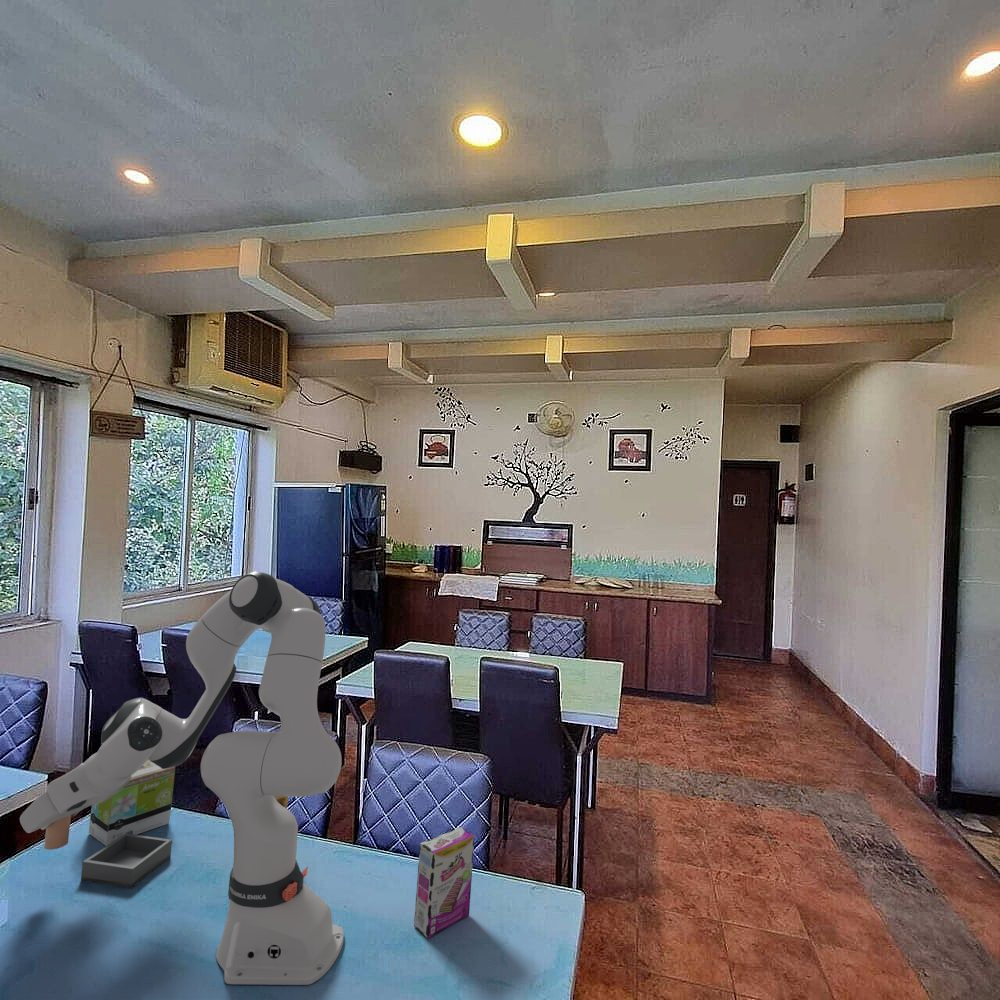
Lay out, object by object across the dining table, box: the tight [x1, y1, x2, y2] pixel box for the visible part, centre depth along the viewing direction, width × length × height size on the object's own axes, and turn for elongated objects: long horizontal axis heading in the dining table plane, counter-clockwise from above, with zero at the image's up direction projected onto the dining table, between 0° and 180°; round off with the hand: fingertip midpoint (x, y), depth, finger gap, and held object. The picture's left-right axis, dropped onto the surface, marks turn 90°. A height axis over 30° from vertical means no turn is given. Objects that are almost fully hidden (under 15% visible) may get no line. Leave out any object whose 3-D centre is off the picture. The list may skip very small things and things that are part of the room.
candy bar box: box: [413, 826, 475, 939], centre depth 118 cm, size 11×5×16 cm, turn 135°
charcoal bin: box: [80, 833, 173, 889], centre depth 129 cm, size 12×12×4 cm
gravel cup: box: [43, 815, 72, 851], centre depth 121 cm, size 4×4×9 cm
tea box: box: [88, 759, 176, 847], centre depth 146 cm, size 15×10×15 cm, turn 147°
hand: (56, 819), depth 121 cm, fingers closed on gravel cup, 4 cm apart
